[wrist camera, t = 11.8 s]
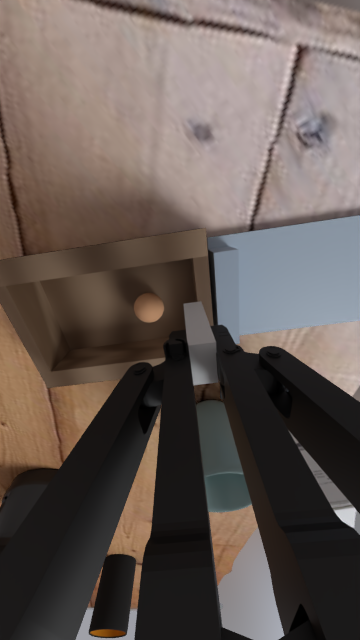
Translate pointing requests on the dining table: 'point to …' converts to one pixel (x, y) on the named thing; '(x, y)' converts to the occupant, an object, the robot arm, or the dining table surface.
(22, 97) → the dining table surface
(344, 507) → the ink box
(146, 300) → the ball
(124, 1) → the dining table surface
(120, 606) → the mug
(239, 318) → the lid
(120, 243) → the box
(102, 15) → the dining table surface
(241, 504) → the cup
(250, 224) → the dining table surface
